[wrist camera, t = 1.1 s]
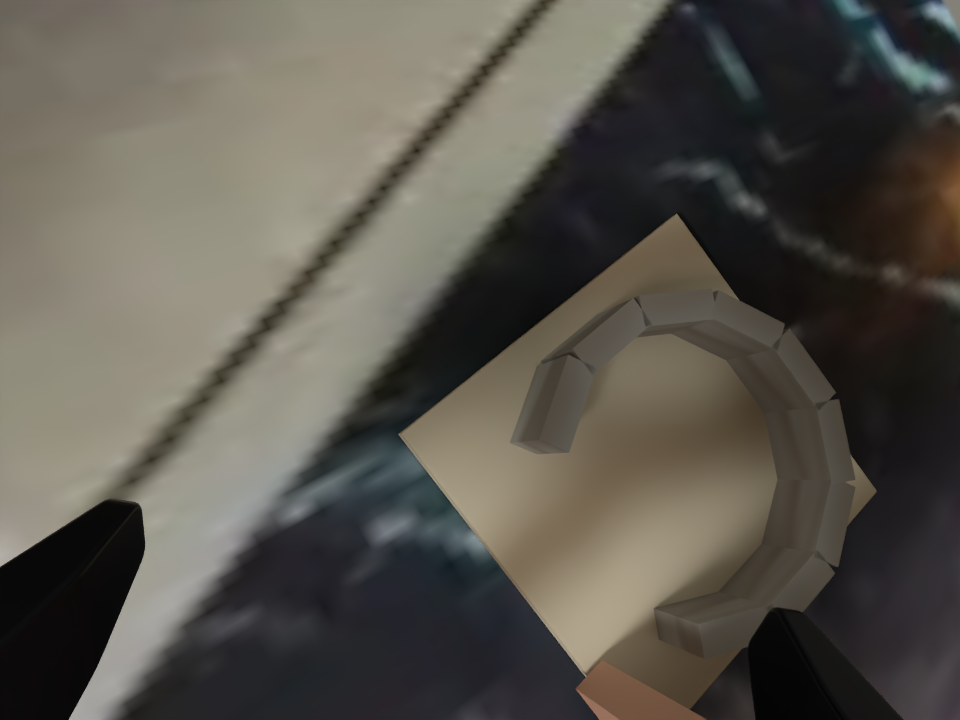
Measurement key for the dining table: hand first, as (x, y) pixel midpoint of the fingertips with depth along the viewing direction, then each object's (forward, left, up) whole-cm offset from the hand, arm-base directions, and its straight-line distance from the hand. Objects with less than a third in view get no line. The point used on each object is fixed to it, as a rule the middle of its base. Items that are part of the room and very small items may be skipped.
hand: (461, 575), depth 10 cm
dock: (-5, -9, -12) cm, 16 cm away
